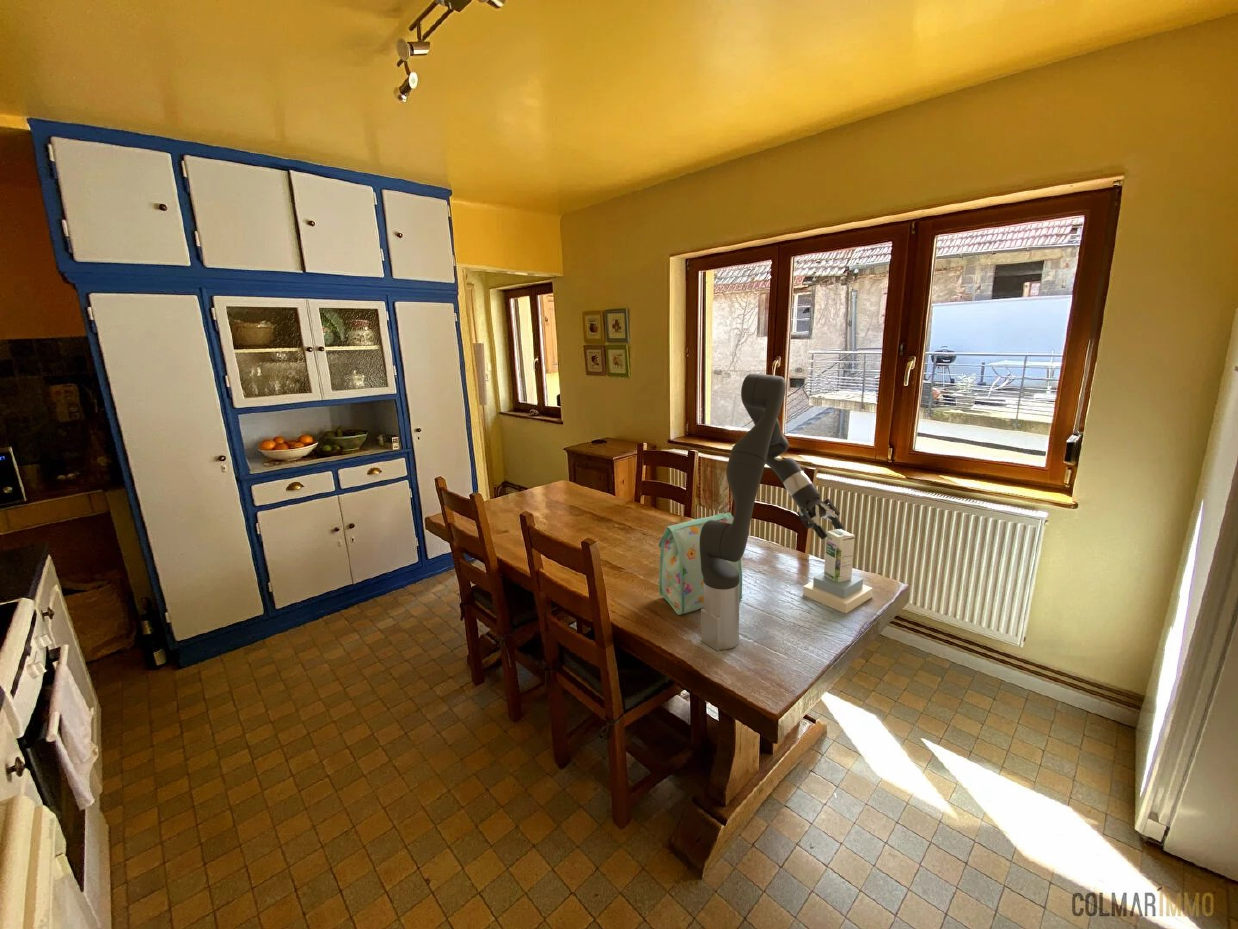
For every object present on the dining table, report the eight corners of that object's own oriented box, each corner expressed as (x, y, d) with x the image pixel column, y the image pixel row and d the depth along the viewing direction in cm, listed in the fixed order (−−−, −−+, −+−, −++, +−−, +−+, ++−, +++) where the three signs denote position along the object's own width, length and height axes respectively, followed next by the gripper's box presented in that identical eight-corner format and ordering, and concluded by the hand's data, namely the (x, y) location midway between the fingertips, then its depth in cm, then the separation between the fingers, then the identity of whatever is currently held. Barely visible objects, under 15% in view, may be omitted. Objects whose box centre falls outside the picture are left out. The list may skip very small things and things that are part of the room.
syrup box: (822, 575, 154) (825, 531, 150) (838, 571, 156) (841, 527, 152) (836, 583, 148) (839, 538, 145) (852, 579, 150) (855, 534, 147)
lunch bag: (718, 579, 167) (717, 502, 161) (747, 602, 153) (748, 518, 146) (655, 595, 160) (652, 515, 153) (680, 621, 145) (677, 533, 138)
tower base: (845, 613, 144) (847, 594, 142) (802, 594, 155) (803, 577, 153) (871, 597, 152) (873, 579, 150) (829, 580, 163) (830, 563, 161)
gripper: (794, 487, 150) (827, 534, 143) (823, 478, 158) (855, 522, 151) (779, 500, 155) (810, 546, 149) (807, 490, 163) (838, 533, 157)
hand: (833, 534), depth 150 cm, fingers open, 8 cm apart
